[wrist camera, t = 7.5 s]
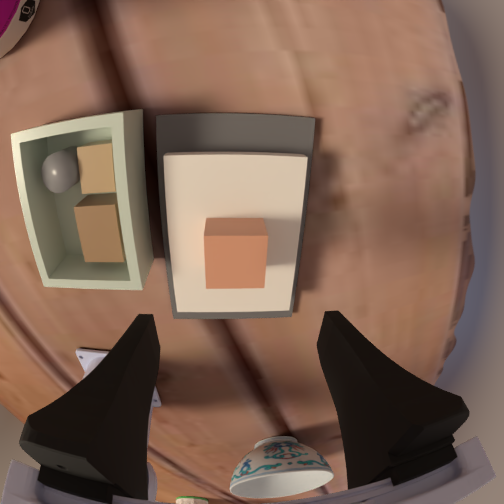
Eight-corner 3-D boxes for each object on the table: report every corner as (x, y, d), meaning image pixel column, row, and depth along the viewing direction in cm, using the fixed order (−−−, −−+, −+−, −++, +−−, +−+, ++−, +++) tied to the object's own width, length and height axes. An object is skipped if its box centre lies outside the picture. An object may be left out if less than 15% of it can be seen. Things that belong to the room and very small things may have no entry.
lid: (285, 296, 24) (295, 333, 20) (179, 297, 23) (173, 335, 19) (300, 152, 18) (320, 166, 15) (168, 150, 18) (153, 165, 14)
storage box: (154, 258, 22) (142, 290, 18) (65, 258, 21) (44, 286, 18) (142, 108, 17) (123, 112, 13) (42, 124, 16) (10, 134, 12)
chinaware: (342, 425, 38) (354, 467, 32) (291, 462, 44) (297, 497, 38) (253, 417, 34) (259, 470, 27) (213, 455, 40) (214, 496, 33)
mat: (290, 313, 26) (291, 316, 25) (174, 314, 25) (173, 318, 24) (313, 117, 18) (315, 118, 17) (157, 115, 17) (156, 115, 17)
